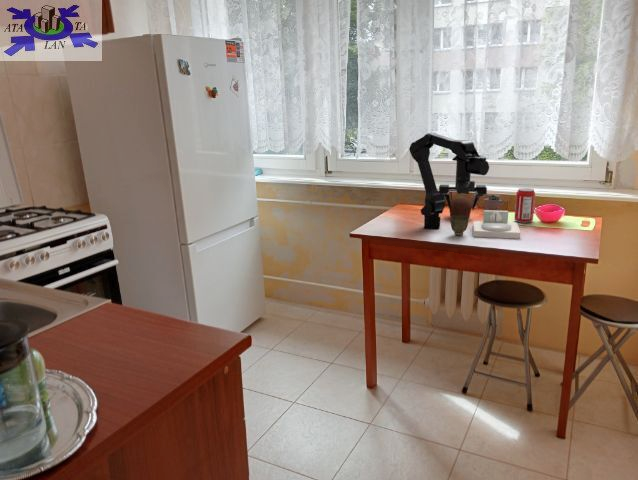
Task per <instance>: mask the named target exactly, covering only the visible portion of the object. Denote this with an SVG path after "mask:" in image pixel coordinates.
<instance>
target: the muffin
mask: <svg viewBox="0 0 638 480" xmlns="http://www.w3.org/2000/svg"><path fill="white" fill-rule="evenodd" d="M450 205H451V208H450V210H449V217H450V216H455V215H456V217H457V215H459V216H460V215H461V216H462V217H463V215H464V217H465V216H467V217H468V218H469V219H470V216H471V211H472V206H473V202H471V200H470V199H469V198H467V197H465V196H456V197H453V198H452V199H450Z"/></svg>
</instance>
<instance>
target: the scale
mask: <svg viewBox="0 0 638 480" xmlns="http://www.w3.org/2000/svg"><path fill="white" fill-rule="evenodd" d="M482 216H483V217H482V221H478V220H477V221H476V220H475V221H473V222H472V224H473V226H472V227H473V237H476V238H477V237H478V238H479V237H480V238H496V239H497V238H501V239H504V238H505V239H521V230H520V228H519V225H518V222H509V221H508V220H509V211H508V210H501V211H495V210H484V209H483V215H482Z"/></svg>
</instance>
